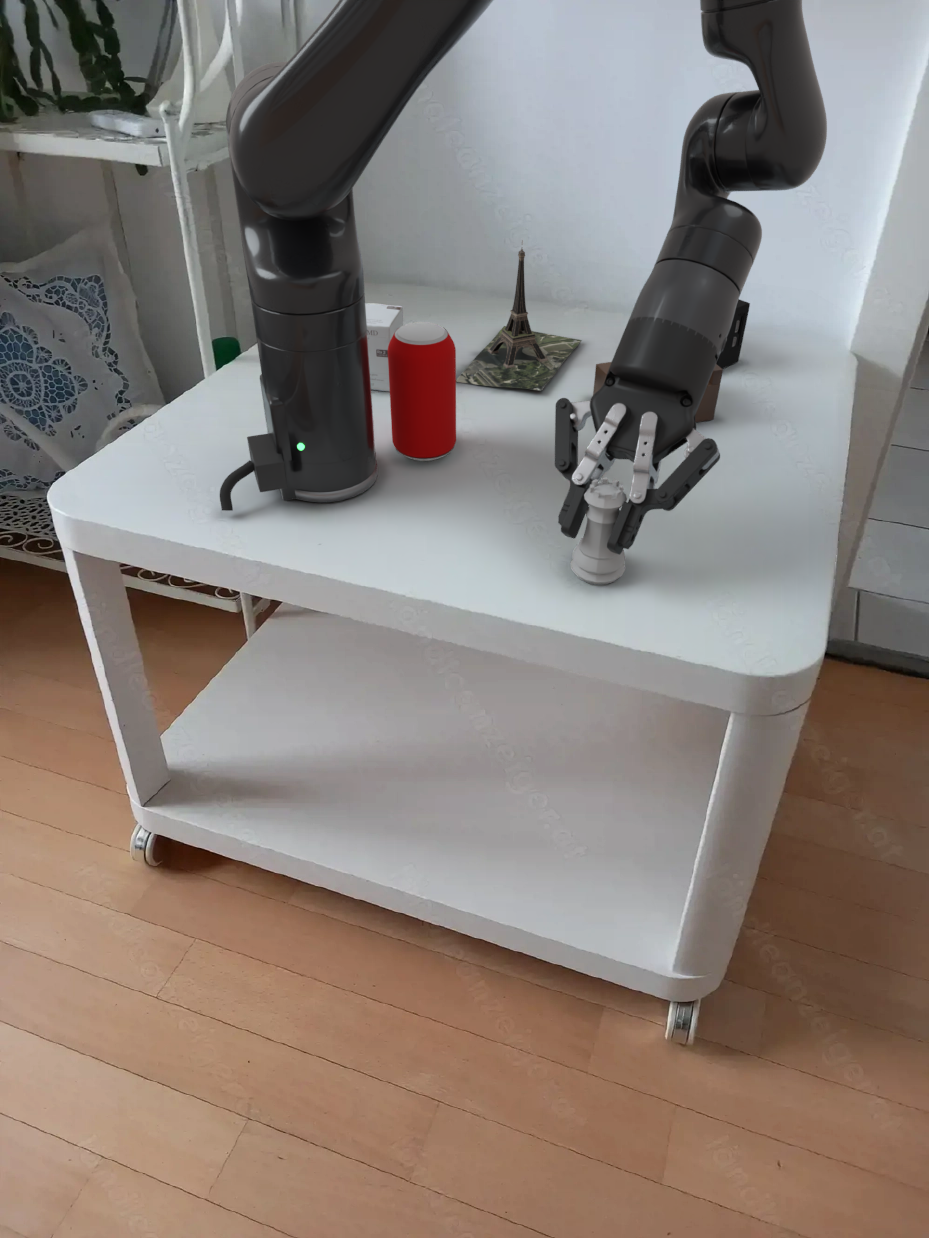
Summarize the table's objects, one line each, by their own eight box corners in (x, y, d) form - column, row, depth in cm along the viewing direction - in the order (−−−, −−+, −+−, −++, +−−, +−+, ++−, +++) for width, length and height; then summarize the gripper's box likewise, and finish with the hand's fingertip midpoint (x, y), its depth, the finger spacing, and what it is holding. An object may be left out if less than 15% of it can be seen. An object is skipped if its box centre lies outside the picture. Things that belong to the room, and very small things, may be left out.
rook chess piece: (622, 590, 74) (634, 504, 69) (566, 583, 75) (573, 498, 70) (626, 557, 78) (638, 474, 72) (573, 551, 78) (580, 468, 73)
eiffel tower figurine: (542, 397, 100) (550, 271, 91) (454, 381, 103) (454, 257, 94) (581, 343, 111) (592, 226, 102) (501, 330, 113) (504, 215, 105)
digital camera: (636, 346, 110) (644, 287, 105) (666, 334, 113) (674, 276, 108) (709, 376, 104) (720, 314, 99) (738, 362, 107) (750, 301, 102)
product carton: (338, 388, 101) (332, 321, 97) (353, 364, 106) (348, 300, 101) (393, 392, 101) (390, 326, 96) (406, 368, 105) (403, 304, 100)
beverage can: (413, 473, 88) (409, 351, 80) (381, 445, 92) (374, 327, 84) (468, 455, 90) (469, 335, 83) (434, 429, 94) (431, 312, 87)
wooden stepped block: (625, 434, 94) (631, 383, 90) (592, 399, 100) (597, 350, 96) (713, 419, 96) (723, 369, 93) (676, 386, 102) (684, 337, 98)
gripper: (579, 296, 72) (494, 503, 72) (758, 336, 66) (667, 561, 66) (602, 338, 79) (525, 527, 79) (766, 378, 73) (684, 582, 73)
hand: (590, 542), depth 72 cm, fingers closed on rook chess piece, 3 cm apart
